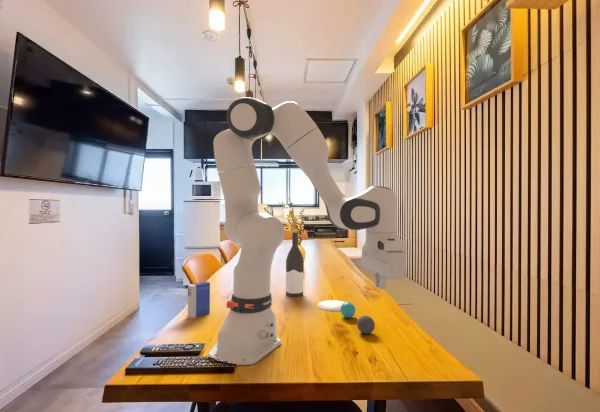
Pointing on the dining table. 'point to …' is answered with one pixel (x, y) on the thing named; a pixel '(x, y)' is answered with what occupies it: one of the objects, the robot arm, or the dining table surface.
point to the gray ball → (365, 324)
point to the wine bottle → (294, 269)
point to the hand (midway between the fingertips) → (380, 288)
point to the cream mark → (331, 305)
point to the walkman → (198, 299)
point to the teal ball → (347, 309)
